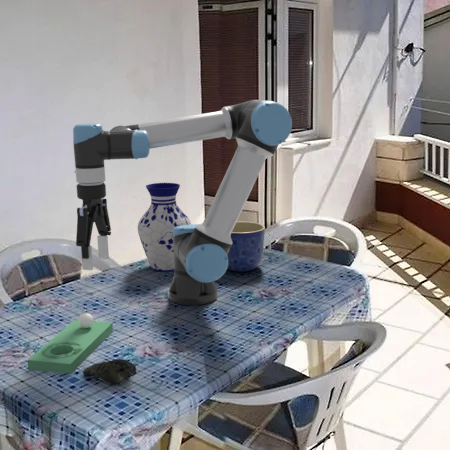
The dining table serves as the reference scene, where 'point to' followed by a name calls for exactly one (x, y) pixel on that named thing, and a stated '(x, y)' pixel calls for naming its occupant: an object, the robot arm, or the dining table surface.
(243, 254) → the planter
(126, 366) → the stone
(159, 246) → the vase
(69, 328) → the green rectangular board
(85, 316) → the ball
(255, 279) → the dining table surface
